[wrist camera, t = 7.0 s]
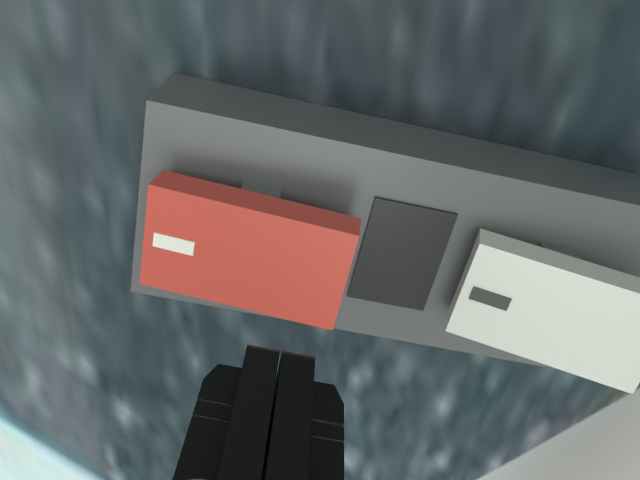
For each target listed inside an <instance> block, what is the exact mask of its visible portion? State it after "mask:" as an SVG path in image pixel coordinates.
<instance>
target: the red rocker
mask: <svg viewBox="0 0 640 480" xmlns="http://www.w3.org/2000/svg"><path fill="white" fill-rule="evenodd" d="M360 225H361V218H358V217H354V216H350V215H346V214H342V213H338V212H334V211H330V210H325V209H321V208H317V207H313V206H309V205H305V204H301V203H297V202H293V201H289V200H285V199H281V198H276V197H272V196H268V195H264V194H260V193H256V192H252V191H248V190H244V189H240V188H236V187H232V186H227V185H223V184H219V183H215V182H211V181H207V180H203V179H199V178H195V177H191V176H187V175H183V174H178V173H174V172H170V171H166V170H162V171H161V172H160V173H159V174H158V175H157V176H156V177H155V178H154V179H153V180H152V181H151V182H150V183H149V184H148V194H147V205H146V216H145V227H144V238H143V249H142V260H141V271H140V282H139V284H143V285H147V286H151V287H155V288H159V289H163V290H167V291H172V292H176V293H180V294H184V295H188V296H192V297H196V298H200V299H204V300H209V301H213V302H217V303H221V304H225V305H229V306H233V307H237V308H241V309H246V310H250V311H254V312H258V313H262V314H266V315H270V316H274V317H278V318H282V319H287V320H291V321H295V322H299V323H303V324H307V325H311V326H315V327H319V328H324V329H328V330H332V331H333V328H334V324H335V321H336V317H337V314H338V310H339V306H340V303H341V299H342V296H343V292H344V289H345V285H346V282H347V278H348V275H349V271H350V268H351V264H352V261H353V257H354V253H355V250H356V246H357V243H358V239H359V235H360Z"/></svg>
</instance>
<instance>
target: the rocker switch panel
mask: <svg viewBox="0 0 640 480" xmlns="http://www.w3.org/2000/svg"><path fill="white" fill-rule="evenodd" d="M162 170H166V171H170V172H174V173H178V174H183V175H187V176H191V177H195V178H199V179H203V180H207V181H211V182H215V183H219V184H223V185H227V186H232V187H236V188H240V189H244V190H248V191H252V192H256V193H260V194H264V195H268V196H272V197H276V198H281V199H285V200H289V201H293V202H297V203H301V204H305V205H309V206H313V207H317V208H321V209H325V210H330V211H334V212H338V213H342V214H346V215H350V216H354V217H358V218H361V225H360V235H359V239H358V243H357V246H356V250H355V253H354V257H353V261H352V264H351V268H350V271H349V275H348V278H347V282H346V285H345V289H344V292H343V296H342V299H341V303H340V306H339V310H338V314H337V317H336V321H335V324H334V329H339V330H345V331H350V332H356V333H361V334H367V335H372V336H378V337H383V338H389V339H394V340H400V341H405V342H411V343H416V344H422V345H427V346H433V347H438V348H444V349H449V350H455V351H460V352H466V353H471V354H477V355H482V356H488V357H493V358H499V359H504V360H509V361H515V362H520V363H526V364H531V365H537V366H542V367H548V368H553V369H557V368H554V367H551V366H548V365H545V364H542V363H539V362H536V361H533V360H530V359H527V358H524V357H521V356H518V355H515V354H512V353H509V352H506V351H503V350H500V349H497V348H494V347H491V346H488V345H485V344H482V343H479V342H476V341H473V340H471V339H468V338H465V337H462V336H459V335H456V334H453V333H450V332H447V331H445V329H446V322H447V314H448V310H449V308H450V305H451V303H452V300H453V297H454V295H455V292H456V290H457V287H458V284H459V282H460V279H461V277H462V274H463V272H464V269H465V266H466V264H467V261H468V259H469V256H470V254H471V251H472V248H473V246H474V243H475V241H476V238H477V235H478V233H479V230H480V228H481V229H485V230H488V231H491V232H494V233H497V234H501V235H504V236H507V237H510V238H514V239H517V240H520V241H523V242H526V243H530V244H533V245H536V246H539V247H543V248H546V249H549V250H552V251H556V252H559V253H562V254H565V255H568V256H572V257H575V258H578V259H581V260H585V261H588V262H591V263H594V264H598V265H601V266H604V267H607V268H610V269H614V270H617V271H620V272H623V273H627V274H630V275H633V276H636V277H639V278H640V177H639V176H638V175H636V174H635V173H631V172H627V171H622V170H618V169H613V168H608V167H604V166H599V165H595V164H590V163H586V162H581V161H576V160H572V159H567V158H563V157H558V156H554V155H549V154H545V153H540V152H535V151H531V150H526V149H522V148H517V147H513V146H508V145H504V144H499V143H494V142H490V141H485V140H481V139H476V138H472V137H467V136H462V135H458V134H453V133H449V132H444V131H440V130H435V129H431V128H426V127H421V126H417V125H412V124H408V123H403V122H399V121H394V120H390V119H385V118H380V117H376V116H371V115H367V114H362V113H358V112H353V111H348V110H344V109H339V108H335V107H330V106H326V105H321V104H317V103H312V102H307V101H303V100H298V99H294V98H289V97H285V96H280V95H276V94H271V93H266V92H262V91H257V90H253V89H248V88H244V87H239V86H234V85H230V84H225V83H221V82H216V81H212V80H207V79H203V78H198V77H193V76H189V75H184V74H180V73H174V74H173V75H172V76H171V77H170V78H169V79H168V80H167V81H166V82H165V83H164V84H163V85H162V86H160V87H159V88H158V89H157V90H156V91H155V92H154V93H153V94H152V95H151V96H150V97H149V98H148V99H147V100H146V111H145V123H144V135H143V147H142V159H141V171H140V183H139V195H138V207H137V219H136V231H135V243H134V255H133V267H132V279H131V292H136V293H142V294H147V295H153V296H158V297H164V298H169V299H175V300H180V301H186V302H191V303H197V304H202V305H207V306H213V307H218V308H224V309H229V310H235V311H240V312H246V313H251V314H257V315H262V316H268V317H273V318H278V317H274V316H270V315H266V314H262V313H258V312H254V311H250V310H246V309H241V308H237V307H233V306H229V305H225V304H221V303H217V302H213V301H209V300H204V299H200V298H196V297H192V296H188V295H184V294H180V293H176V292H172V291H167V290H163V289H159V288H155V287H151V286H147V285H143V284H139V282H140V271H141V260H142V249H143V238H144V227H145V216H146V205H147V194H148V184H149V183H150V182H151V181H152V180H153V179H154V178H155V177H156V176H157V175H158V174H159V173H160V172H161V171H162ZM279 319H282V318H279ZM284 320H287V319H284ZM290 321H291V320H290ZM559 370H560V369H559Z"/></svg>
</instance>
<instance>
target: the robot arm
mask: <svg viewBox="0 0 640 480" xmlns="http://www.w3.org/2000/svg"><path fill="white" fill-rule="evenodd" d="M279 353H280V351H279V350H274V349H268V348H263V347H258V346H252V345H247V349H246V353H245V358H244V362H243V366H242V368H238V367H233V366H228V365H222V364H218V365H217V366H216V367H215V368H214V369H213V370H212V371H211V372H210V373H209V374H208V375H207V376H206V377H205V378H204V379H203V382H202V386H201V389H200V392H199V395H198V399H197V402H196V405H195V409H194V412H193V416H192V418H191V422H190V425H189V428H188V431H187V435H186V438H185V441H184V444H183V448H182V451H181V454H180V457H179V461H178V464H177V467H176V471H175V474H174V477H173V479H172V480H344V444H343V442H344V428H343V426H344V403H343V401H342V399H341V397H340V395H339V393H338V391H337V389H336V387H335V385H331V384H326V383H321V382H315V381H314V368H315V357H312V356H306V355H301V354H296V353H290V352H285V351H282V354H281V358H280V363H279V367H278V360H279ZM277 367H278V371H277ZM276 374H277V376H276Z"/></svg>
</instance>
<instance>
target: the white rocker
mask: <svg viewBox="0 0 640 480" xmlns="http://www.w3.org/2000/svg"><path fill="white" fill-rule="evenodd" d="M445 331H447V332H450V333H453V334H456V335H459V336H462V337H465V338H468V339H471V340H473V341H476V342H479V343H482V344H485V345H488V346H491V347H494V348H497V349H500V350H503V351H506V352H509V353H512V354H515V355H518V356H521V357H524V358H527V359H530V360H533V361H536V362H539V363H542V364H545V365H548V366H551V367H554V368H557V369H560V370H563V371H566V372H569V373H572V374H574V375H577V376H580V377H583V378H586V379H589V380H592V381H595V382H598V383H601V384H604V385H607V386H610V387H613V388H616V389H619V390H622V391H625V392H628V393H631V394H633V393H634V391H635V389H636V388H637V386H638V384H639V383H640V278H639V277H636V276H633V275H630V274H627V273H623V272H620V271H617V270H614V269H610V268H607V267H604V266H601V265H598V264H594V263H591V262H588V261H585V260H581V259H578V258H575V257H572V256H568V255H565V254H562V253H559V252H556V251H552V250H549V249H546V248H543V247H539V246H536V245H533V244H530V243H526V242H523V241H520V240H517V239H514V238H510V237H507V236H504V235H501V234H497V233H494V232H491V231H488V230H485V229H481V228H480V230H479V233H478V235H477V238H476V241H475V243H474V246H473V248H472V251H471V254H470V256H469V259H468V261H467V264H466V266H465V269H464V272H463V274H462V277H461V279H460V282H459V284H458V287H457V290H456V292H455V295H454V297H453V300H452V303H451V305H450V308H449V310H448V314H447V322H446V329H445Z"/></svg>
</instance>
